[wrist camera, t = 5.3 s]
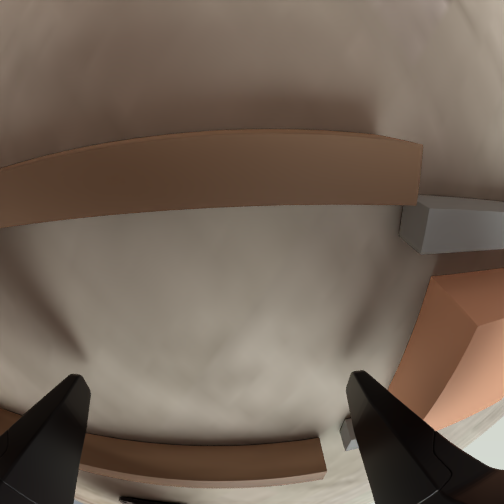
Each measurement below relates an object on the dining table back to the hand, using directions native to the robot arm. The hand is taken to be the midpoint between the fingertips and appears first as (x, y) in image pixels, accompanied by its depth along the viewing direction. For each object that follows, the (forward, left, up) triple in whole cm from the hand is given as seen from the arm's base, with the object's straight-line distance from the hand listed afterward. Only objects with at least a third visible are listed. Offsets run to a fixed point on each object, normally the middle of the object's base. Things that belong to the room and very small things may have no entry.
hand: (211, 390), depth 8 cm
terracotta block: (0, -10, -1) cm, 10 cm away
